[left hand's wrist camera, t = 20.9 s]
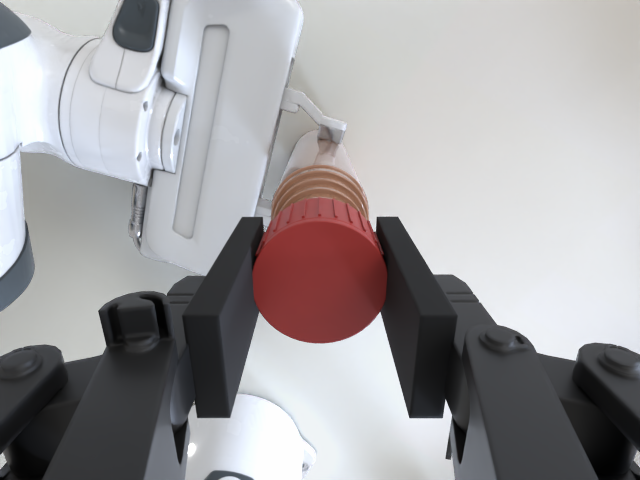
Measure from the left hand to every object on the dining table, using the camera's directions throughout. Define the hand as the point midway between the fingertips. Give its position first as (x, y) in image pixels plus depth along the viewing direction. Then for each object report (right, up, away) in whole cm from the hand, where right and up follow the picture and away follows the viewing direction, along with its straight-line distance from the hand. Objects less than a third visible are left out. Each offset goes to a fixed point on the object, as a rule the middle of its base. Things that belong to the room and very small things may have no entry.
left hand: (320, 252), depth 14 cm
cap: (0, 0, 0) cm, 0 cm away
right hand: (+1, +5, +14) cm, 15 cm away
